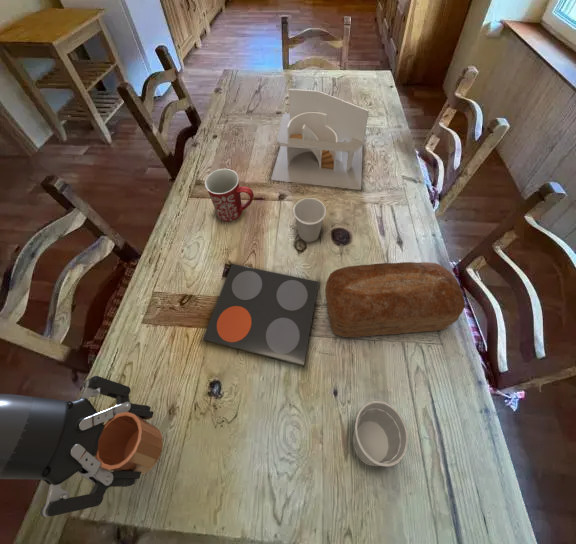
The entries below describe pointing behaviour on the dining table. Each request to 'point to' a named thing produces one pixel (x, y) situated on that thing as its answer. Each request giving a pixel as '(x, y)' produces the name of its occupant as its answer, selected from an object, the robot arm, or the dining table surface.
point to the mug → (227, 194)
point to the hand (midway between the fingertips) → (144, 444)
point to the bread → (392, 299)
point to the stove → (264, 314)
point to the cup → (380, 435)
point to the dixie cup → (309, 218)
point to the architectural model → (321, 141)
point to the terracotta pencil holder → (129, 444)
